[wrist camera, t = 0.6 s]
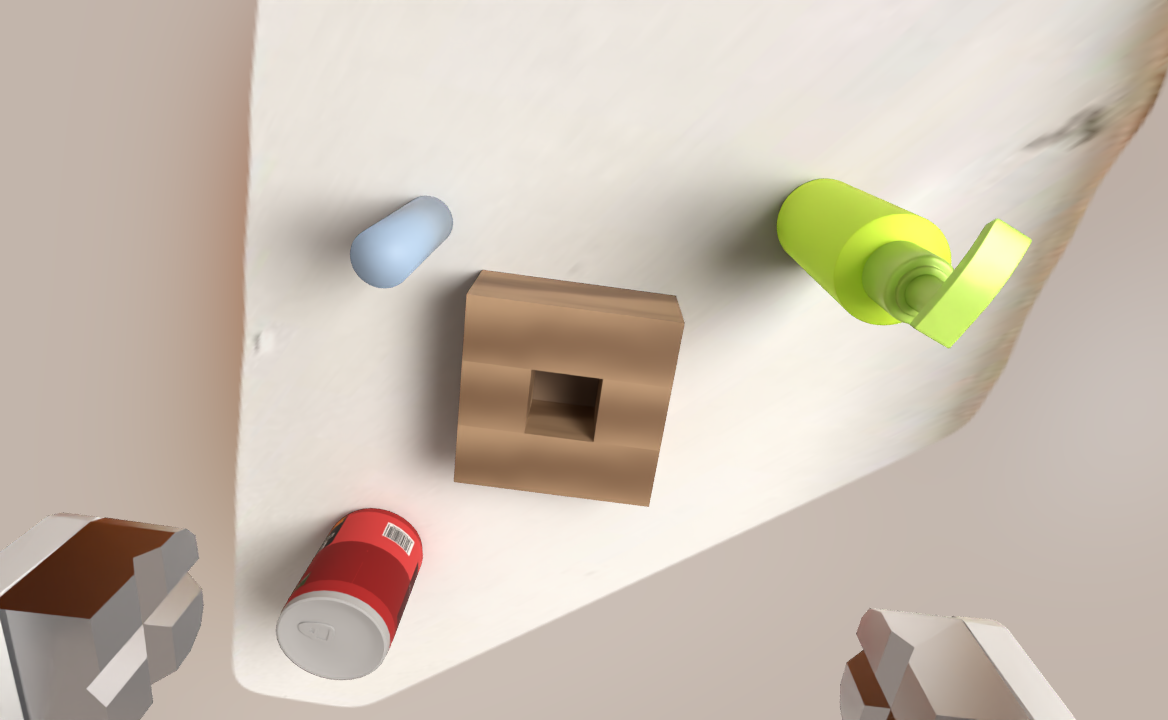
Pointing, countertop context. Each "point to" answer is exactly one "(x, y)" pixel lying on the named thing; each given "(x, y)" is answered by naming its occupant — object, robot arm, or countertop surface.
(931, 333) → the soap dispenser
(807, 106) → the countertop surface
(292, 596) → the canned food
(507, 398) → the socket block
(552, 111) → the countertop surface
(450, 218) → the dowel
